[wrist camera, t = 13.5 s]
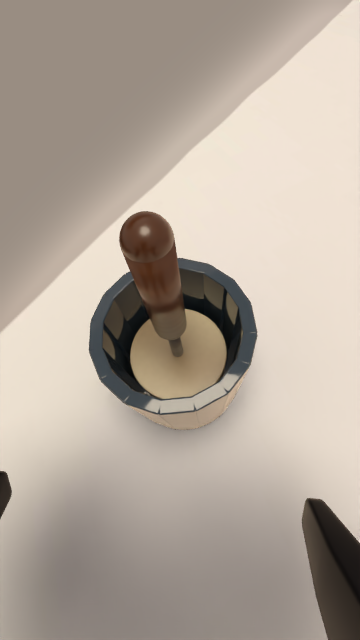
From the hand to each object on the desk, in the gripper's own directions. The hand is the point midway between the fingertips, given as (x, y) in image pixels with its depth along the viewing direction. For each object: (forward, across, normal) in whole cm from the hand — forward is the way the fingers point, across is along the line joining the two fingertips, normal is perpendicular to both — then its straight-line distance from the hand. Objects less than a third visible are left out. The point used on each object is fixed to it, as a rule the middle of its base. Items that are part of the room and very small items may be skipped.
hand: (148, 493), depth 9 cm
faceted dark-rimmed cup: (+11, 0, +2) cm, 11 cm away
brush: (+11, 0, +2) cm, 11 cm away
